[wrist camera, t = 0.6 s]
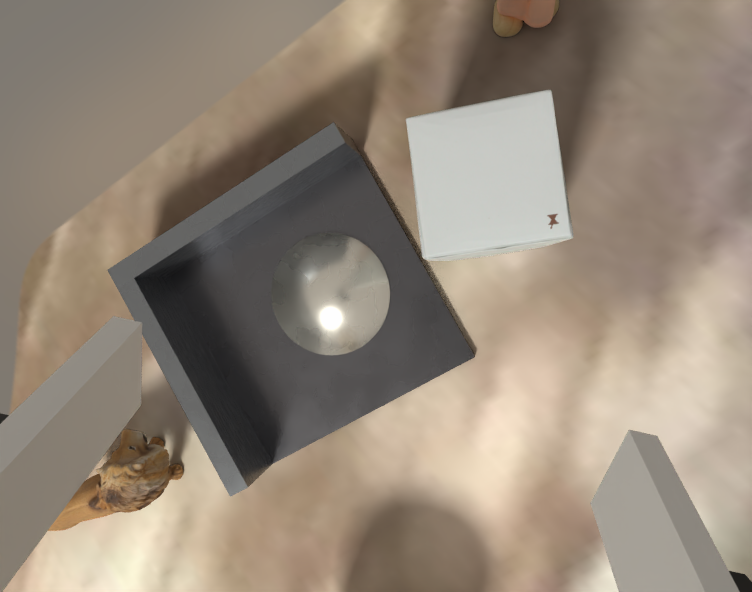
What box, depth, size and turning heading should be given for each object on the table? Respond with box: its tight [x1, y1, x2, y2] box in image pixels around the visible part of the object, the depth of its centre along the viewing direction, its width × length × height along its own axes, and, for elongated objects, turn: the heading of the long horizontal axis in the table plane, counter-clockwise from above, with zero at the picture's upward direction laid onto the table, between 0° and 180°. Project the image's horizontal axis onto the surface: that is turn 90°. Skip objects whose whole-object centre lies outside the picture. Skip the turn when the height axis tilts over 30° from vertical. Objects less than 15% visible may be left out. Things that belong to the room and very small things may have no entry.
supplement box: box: [406, 90, 573, 261], centre depth 33 cm, size 7×7×13 cm
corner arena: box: [108, 122, 475, 496], centre depth 40 cm, size 19×18×5 cm
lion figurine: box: [48, 429, 183, 531], centre depth 42 cm, size 15×5×9 cm, turn 123°
